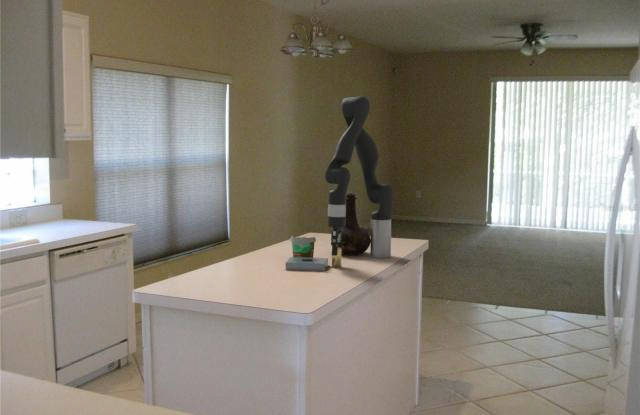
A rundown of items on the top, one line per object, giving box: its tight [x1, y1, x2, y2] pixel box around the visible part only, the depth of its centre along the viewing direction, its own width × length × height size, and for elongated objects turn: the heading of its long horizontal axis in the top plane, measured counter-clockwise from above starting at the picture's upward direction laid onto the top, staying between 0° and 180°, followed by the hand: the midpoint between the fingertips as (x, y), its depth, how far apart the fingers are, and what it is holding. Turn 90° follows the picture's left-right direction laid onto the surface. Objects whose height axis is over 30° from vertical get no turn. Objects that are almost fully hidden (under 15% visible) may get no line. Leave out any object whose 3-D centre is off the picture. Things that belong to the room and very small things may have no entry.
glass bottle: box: [334, 193, 371, 256], centre depth 297 cm, size 18×18×28 cm
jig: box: [285, 256, 329, 272], centre depth 266 cm, size 16×12×3 cm
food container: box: [289, 234, 317, 258], centre depth 284 cm, size 12×6×10 cm, turn 62°
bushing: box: [331, 247, 343, 269], centre depth 267 cm, size 4×4×8 cm
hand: (335, 253), depth 267 cm, fingers open, 8 cm apart
